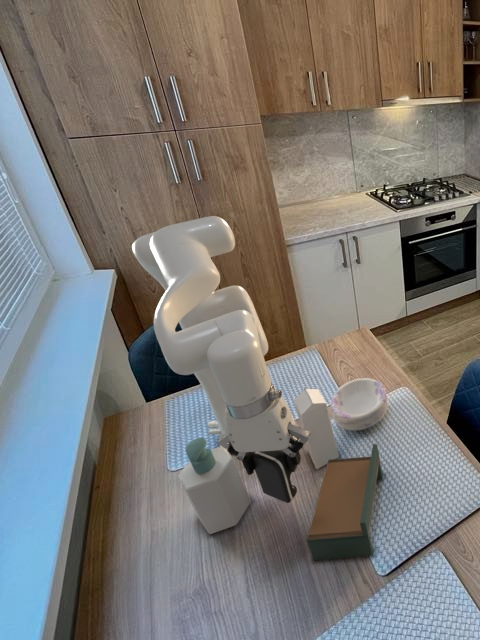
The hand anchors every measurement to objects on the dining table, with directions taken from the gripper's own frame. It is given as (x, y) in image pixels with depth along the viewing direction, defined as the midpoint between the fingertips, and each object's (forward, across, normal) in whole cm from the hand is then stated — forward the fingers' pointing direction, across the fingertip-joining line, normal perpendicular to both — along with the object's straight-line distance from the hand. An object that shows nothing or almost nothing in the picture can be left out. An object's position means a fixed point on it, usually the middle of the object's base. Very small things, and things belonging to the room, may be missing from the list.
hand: (274, 466), depth 77 cm
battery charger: (+7, 0, 0) cm, 7 cm away
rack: (+22, -11, -4) cm, 25 cm away
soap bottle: (+23, +18, -6) cm, 30 cm away
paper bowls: (+23, -8, -32) cm, 40 cm away
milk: (+23, 0, -20) cm, 30 cm away
